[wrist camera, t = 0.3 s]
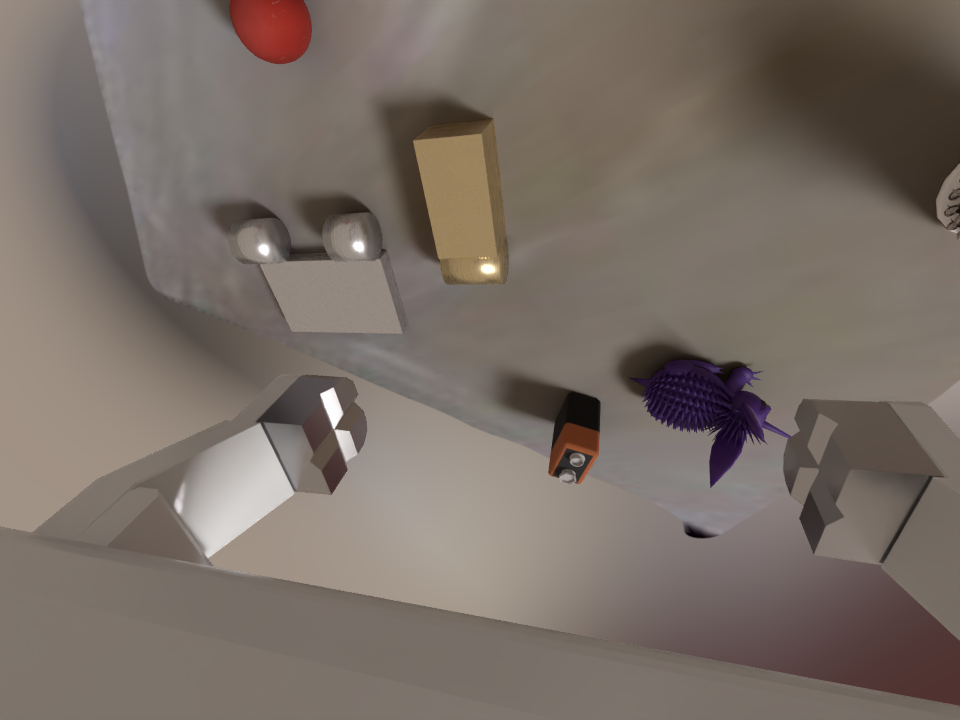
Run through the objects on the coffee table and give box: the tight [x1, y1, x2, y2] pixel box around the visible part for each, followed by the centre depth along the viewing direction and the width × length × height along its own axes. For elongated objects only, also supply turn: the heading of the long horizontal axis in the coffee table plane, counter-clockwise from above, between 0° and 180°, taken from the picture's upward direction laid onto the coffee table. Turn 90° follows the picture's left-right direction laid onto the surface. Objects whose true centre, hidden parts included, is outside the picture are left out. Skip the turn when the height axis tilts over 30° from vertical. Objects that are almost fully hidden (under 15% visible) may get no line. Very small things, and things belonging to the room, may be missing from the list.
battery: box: [548, 392, 600, 485], centre depth 58 cm, size 4×7×10 cm, turn 169°
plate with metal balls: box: [228, 212, 408, 334], centre depth 54 cm, size 16×16×5 cm
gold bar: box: [413, 119, 509, 285], centre depth 44 cm, size 6×15×5 cm, turn 8°
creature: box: [630, 360, 791, 488], centre depth 50 cm, size 9×18×12 cm, turn 86°
